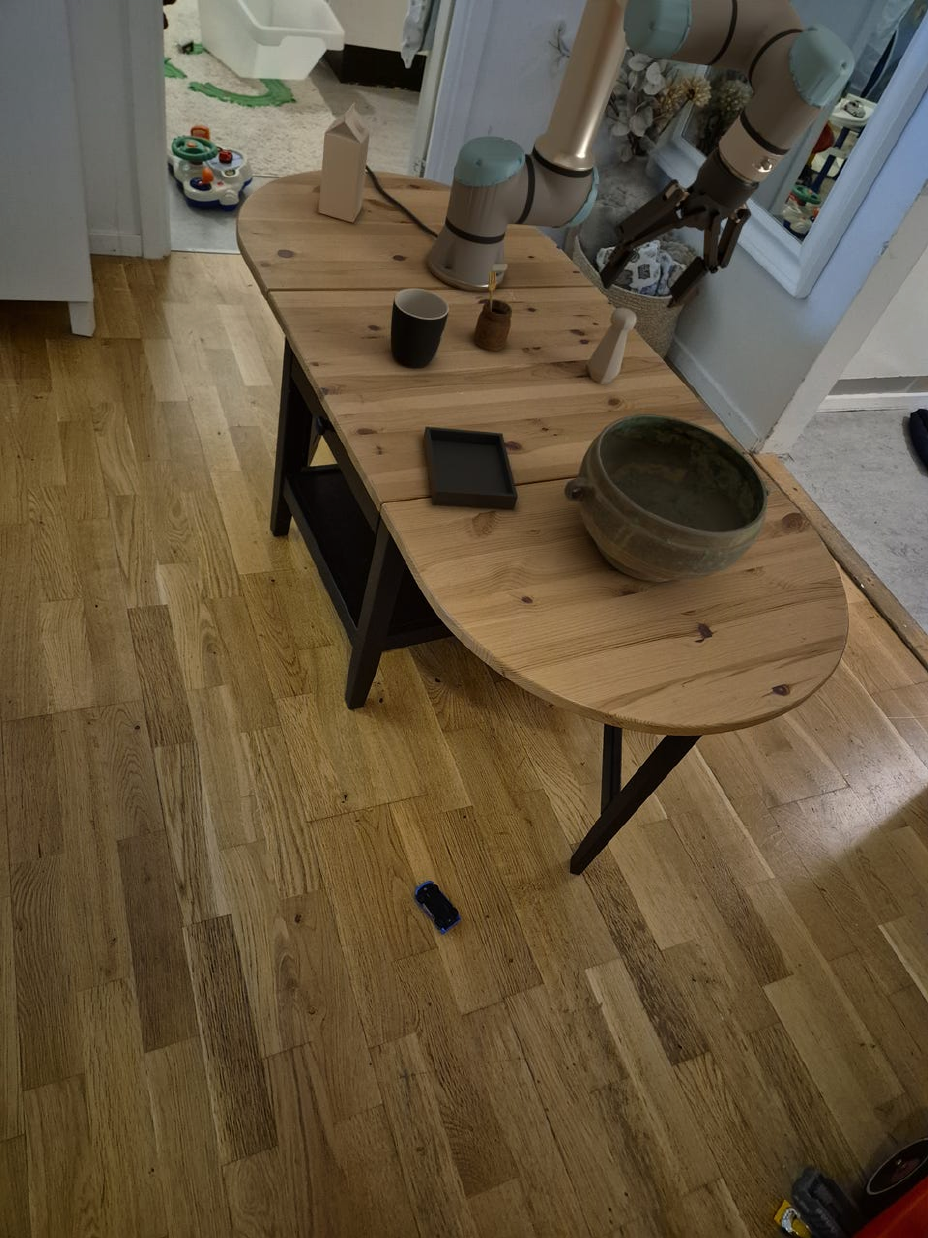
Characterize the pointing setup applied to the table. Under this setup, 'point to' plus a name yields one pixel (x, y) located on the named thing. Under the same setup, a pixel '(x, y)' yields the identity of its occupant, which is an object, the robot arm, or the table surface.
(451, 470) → the tray
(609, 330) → the salt shaker
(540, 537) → the table surface
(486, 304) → the utensil holder
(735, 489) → the bowl
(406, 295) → the mug
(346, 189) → the milk carton
